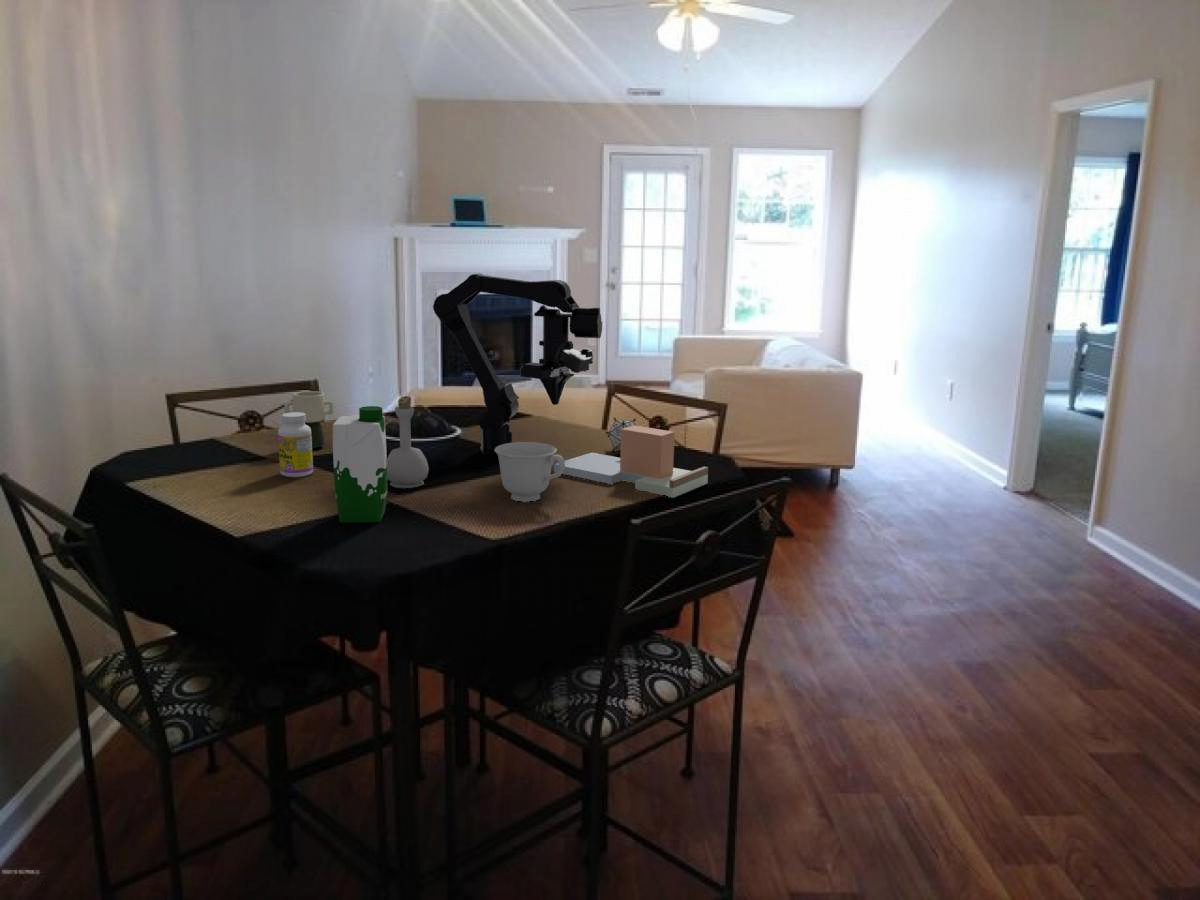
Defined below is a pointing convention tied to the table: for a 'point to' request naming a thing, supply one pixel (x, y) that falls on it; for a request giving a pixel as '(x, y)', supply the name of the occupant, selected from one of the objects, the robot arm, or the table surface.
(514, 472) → the teacup
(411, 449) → the potion bottle
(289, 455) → the supplement bottle
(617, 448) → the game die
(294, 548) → the table surface
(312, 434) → the character mug
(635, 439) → the block
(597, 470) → the trap board
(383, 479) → the milk carton
